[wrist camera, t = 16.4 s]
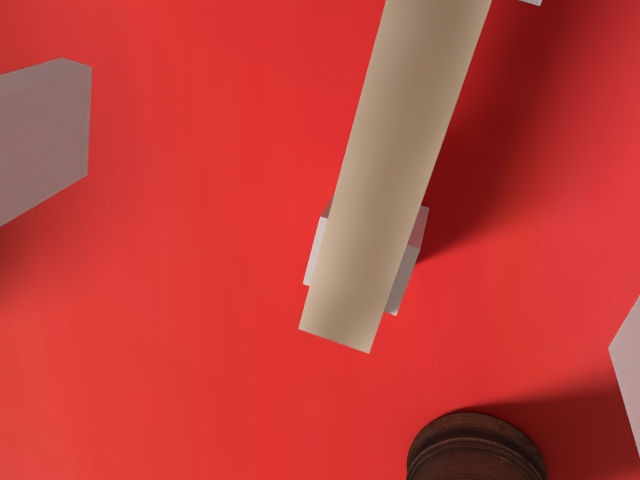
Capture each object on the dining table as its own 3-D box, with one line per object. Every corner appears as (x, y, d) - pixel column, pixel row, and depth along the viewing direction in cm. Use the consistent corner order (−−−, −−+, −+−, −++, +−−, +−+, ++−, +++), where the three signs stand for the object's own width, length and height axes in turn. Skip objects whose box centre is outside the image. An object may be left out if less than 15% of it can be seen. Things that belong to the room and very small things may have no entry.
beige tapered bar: (282, 285, 32) (263, 316, 29) (424, -308, 20) (414, -345, 17) (412, 329, 31) (404, 366, 28) (639, -261, 19) (662, -292, 17)
